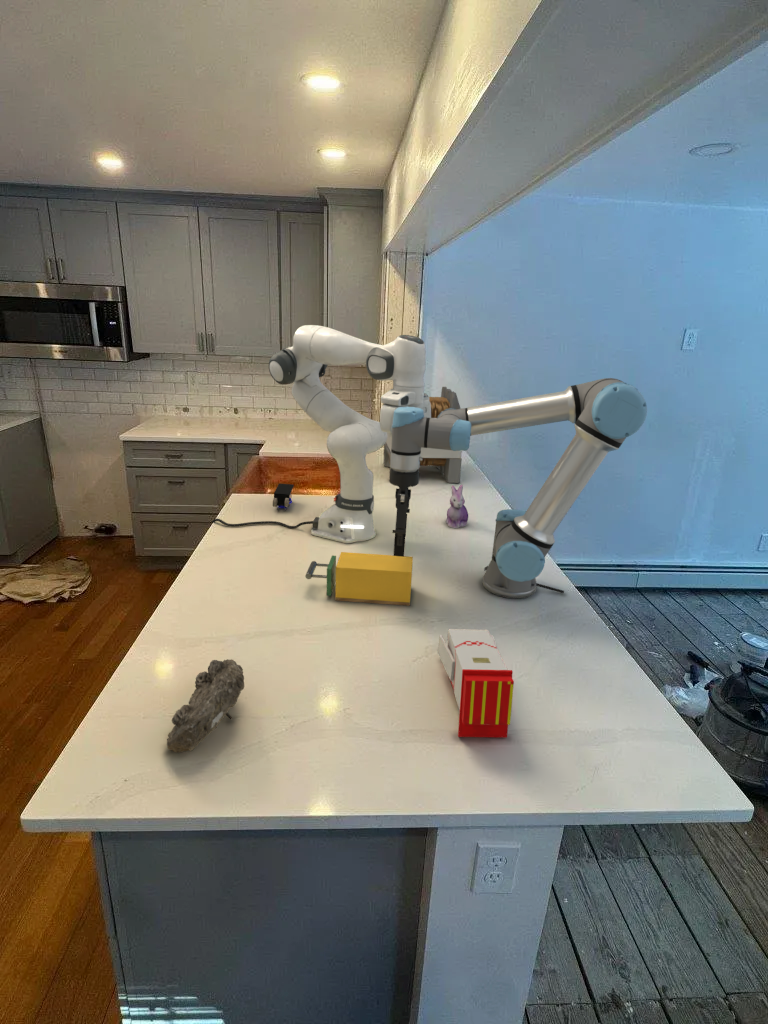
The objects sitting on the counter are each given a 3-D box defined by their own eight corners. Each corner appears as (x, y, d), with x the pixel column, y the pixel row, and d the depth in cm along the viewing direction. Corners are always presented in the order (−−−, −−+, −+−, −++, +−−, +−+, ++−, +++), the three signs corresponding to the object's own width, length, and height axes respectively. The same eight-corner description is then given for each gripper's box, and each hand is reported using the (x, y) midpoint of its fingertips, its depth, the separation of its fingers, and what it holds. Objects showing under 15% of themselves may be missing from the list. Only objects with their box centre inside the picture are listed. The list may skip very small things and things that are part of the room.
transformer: (382, 463, 289) (386, 382, 275) (445, 464, 293) (451, 384, 279) (390, 482, 257) (394, 392, 243) (460, 483, 261) (468, 394, 247)
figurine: (453, 530, 205) (457, 490, 200) (438, 521, 213) (441, 482, 208) (475, 527, 209) (479, 488, 204) (459, 517, 217) (462, 480, 212)
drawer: (305, 594, 154) (304, 567, 151) (311, 579, 162) (311, 553, 159) (396, 600, 152) (397, 573, 150) (397, 585, 161) (399, 559, 158)
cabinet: (335, 600, 153) (335, 567, 150) (340, 583, 162) (341, 551, 159) (409, 605, 152) (412, 572, 148) (410, 588, 161) (412, 556, 158)
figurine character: (289, 516, 215) (294, 499, 229) (289, 498, 212) (294, 482, 225) (272, 515, 215) (278, 499, 228) (271, 497, 212) (277, 481, 225)
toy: (488, 613, 130) (523, 677, 101) (484, 667, 133) (517, 744, 104) (435, 612, 130) (455, 676, 101) (432, 666, 133) (451, 743, 103)
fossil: (192, 660, 117) (244, 628, 112) (224, 691, 120) (276, 661, 115) (142, 746, 98) (202, 712, 93) (182, 779, 101) (242, 748, 96)
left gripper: (420, 391, 170) (417, 436, 174) (376, 397, 154) (374, 447, 159) (437, 394, 166) (434, 440, 171) (395, 400, 151) (392, 451, 155)
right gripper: (419, 483, 133) (412, 566, 140) (419, 457, 156) (414, 529, 163) (387, 481, 133) (382, 563, 140) (392, 455, 156) (388, 527, 164)
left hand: (405, 443), depth 165 cm, fingers open, 8 cm apart
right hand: (399, 545), depth 152 cm, fingers open, 13 cm apart
